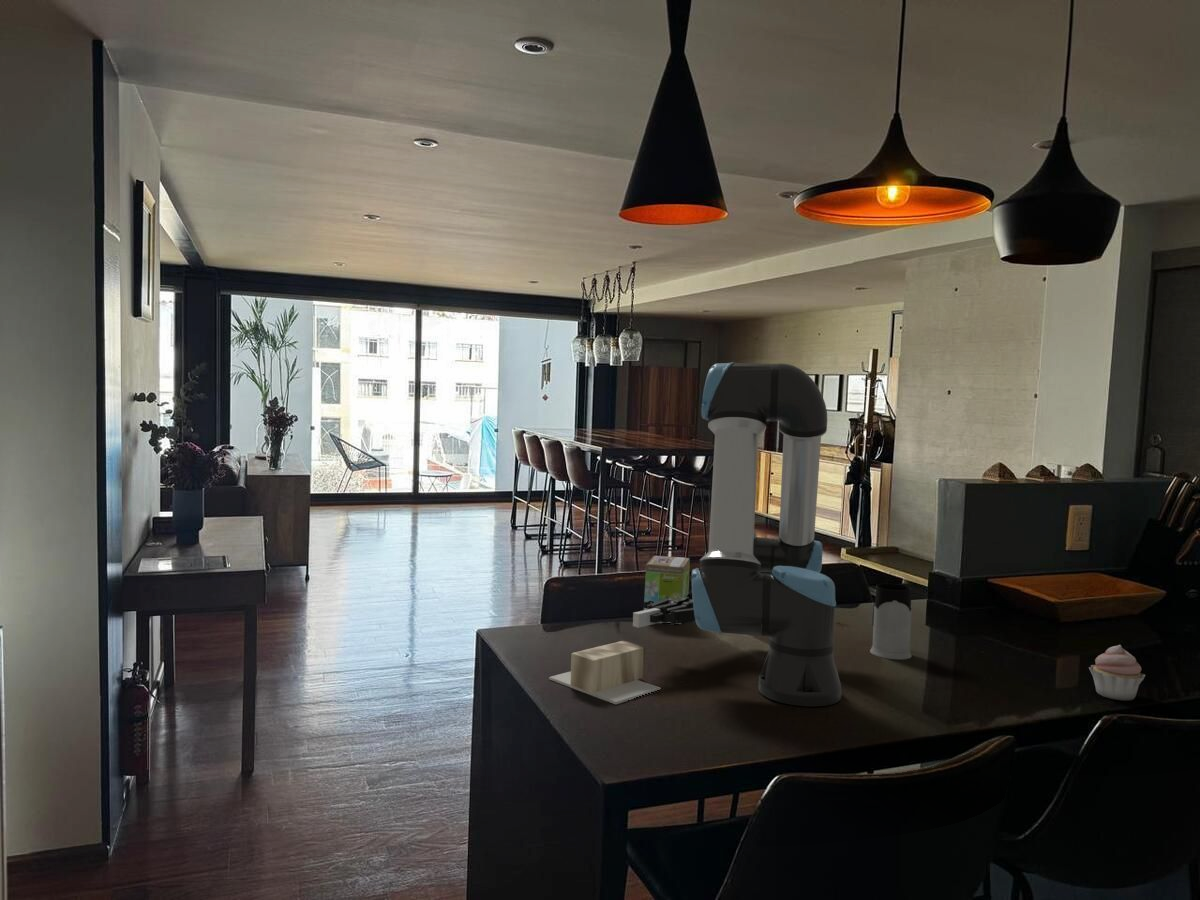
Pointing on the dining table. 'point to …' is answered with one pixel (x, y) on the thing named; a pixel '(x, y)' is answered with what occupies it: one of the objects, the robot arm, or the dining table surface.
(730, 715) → the dining table surface
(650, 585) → the tea box
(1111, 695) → the cupcake
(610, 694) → the mat
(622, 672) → the beech block
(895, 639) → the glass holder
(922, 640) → the dining table surface
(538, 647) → the dining table surface
